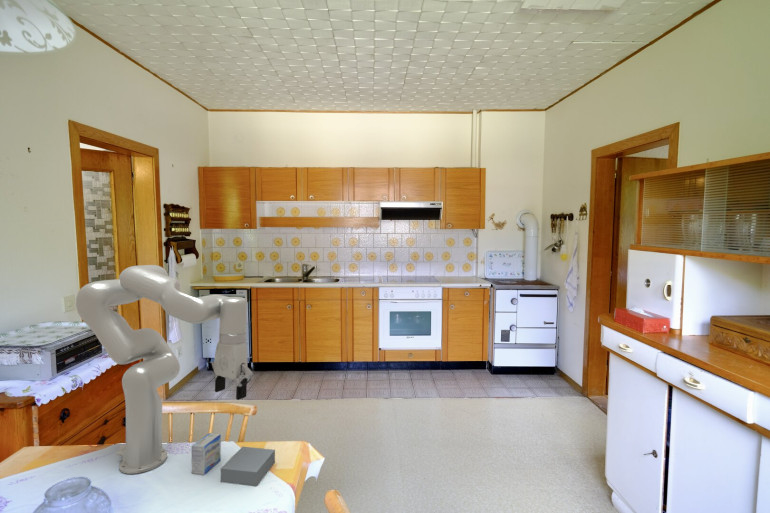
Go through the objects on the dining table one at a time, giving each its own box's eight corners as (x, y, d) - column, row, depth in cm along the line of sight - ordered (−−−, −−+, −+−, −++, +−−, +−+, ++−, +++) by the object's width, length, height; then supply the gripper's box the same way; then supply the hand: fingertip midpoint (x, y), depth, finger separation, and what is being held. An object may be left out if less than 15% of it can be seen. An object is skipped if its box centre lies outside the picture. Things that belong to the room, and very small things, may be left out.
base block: (220, 482, 106) (220, 468, 106) (242, 458, 118) (242, 446, 117) (256, 486, 104) (256, 472, 104) (274, 462, 116) (275, 449, 116)
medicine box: (203, 475, 108) (204, 446, 108) (190, 473, 109) (191, 445, 109) (221, 461, 116) (221, 434, 116) (208, 459, 117) (208, 432, 117)
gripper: (203, 336, 112) (201, 391, 112) (241, 345, 103) (239, 405, 103) (224, 331, 118) (222, 384, 119) (262, 340, 110) (260, 397, 110)
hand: (230, 394), depth 111 cm, fingers open, 9 cm apart
